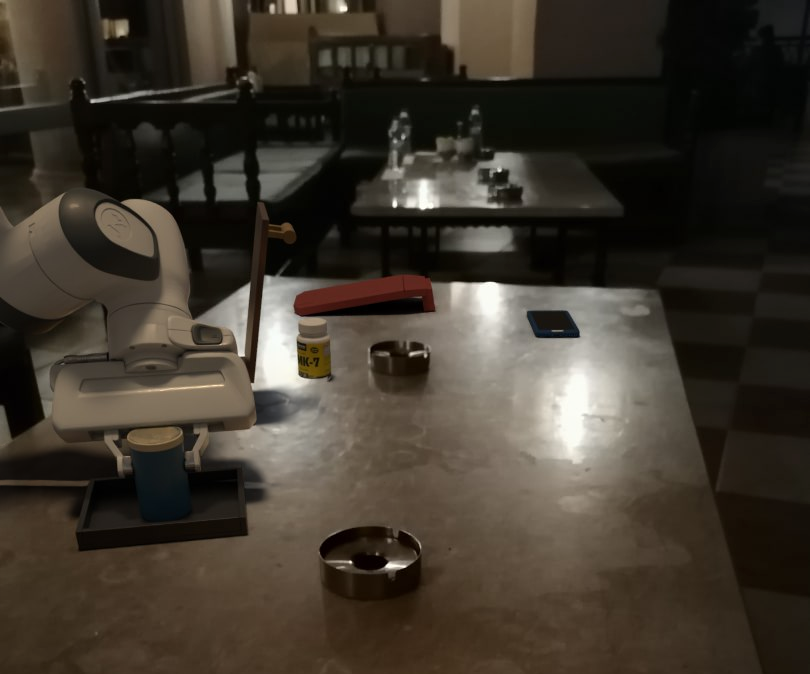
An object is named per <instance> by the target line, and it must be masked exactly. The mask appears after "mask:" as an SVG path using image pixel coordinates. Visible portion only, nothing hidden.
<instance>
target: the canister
mask: <svg viewBox="0 0 810 674" xmlns="http://www.w3.org/2000/svg"><path fill="white" fill-rule="evenodd" d="M126 442H127V446H128V447H129V453H130V456H131V460H132V466H133V471H134V478H135V483H136V489H137V495H138V501H139V507H140V513H141V516H142V517H143V518H145V519H147V520H150V521H156V522H164V521H172V520H176V519H179V518H181V517H184V516H185V515H187V514H188V513H189V512H190V511H191V509H192V505H191V498H190V490H189V483H188V475H187V472H186V469H185V458H184V452H185V446H184V434H183V431H182V430H181V429H180V428H179V427H177V426H174V425H167V426H153V427H140V428H137V429H135V430H133V431H131V432H130V433H129V434H128V435H127V439H126Z"/></svg>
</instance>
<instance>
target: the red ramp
mask: <svg viewBox="0 0 810 674" xmlns="http://www.w3.org/2000/svg"><path fill="white" fill-rule="evenodd" d="M420 297H421V300H422V306H423V311H424V313H426V312H431V311H436V305H435V297H434V291H433V284H432V281H431V277H427V278H426V276H425V275H415V274H406V273H405V274H404V273H403V274H397V275H391V276H386V277H379V278H374V279H367V280H362V281H356V282H350V283H344V284H339V285H333V286H326V287H321V288H315V289H309V290H304V291H302V292H300V293H298V294H296V295H295V299H294V302H293V305H292V306H293V312H294V314H296V315H299V316H306V315H313V314H317V313H318V314H319V313H324V312H329V311H331V312H332V311H337V310H341V309H342V310H343V309H348V308H354V307H360V306H366V305H371V304H377V303H382V302H383V303H384V302H389V301H396V300H400V299H408V298H420Z"/></svg>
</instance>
